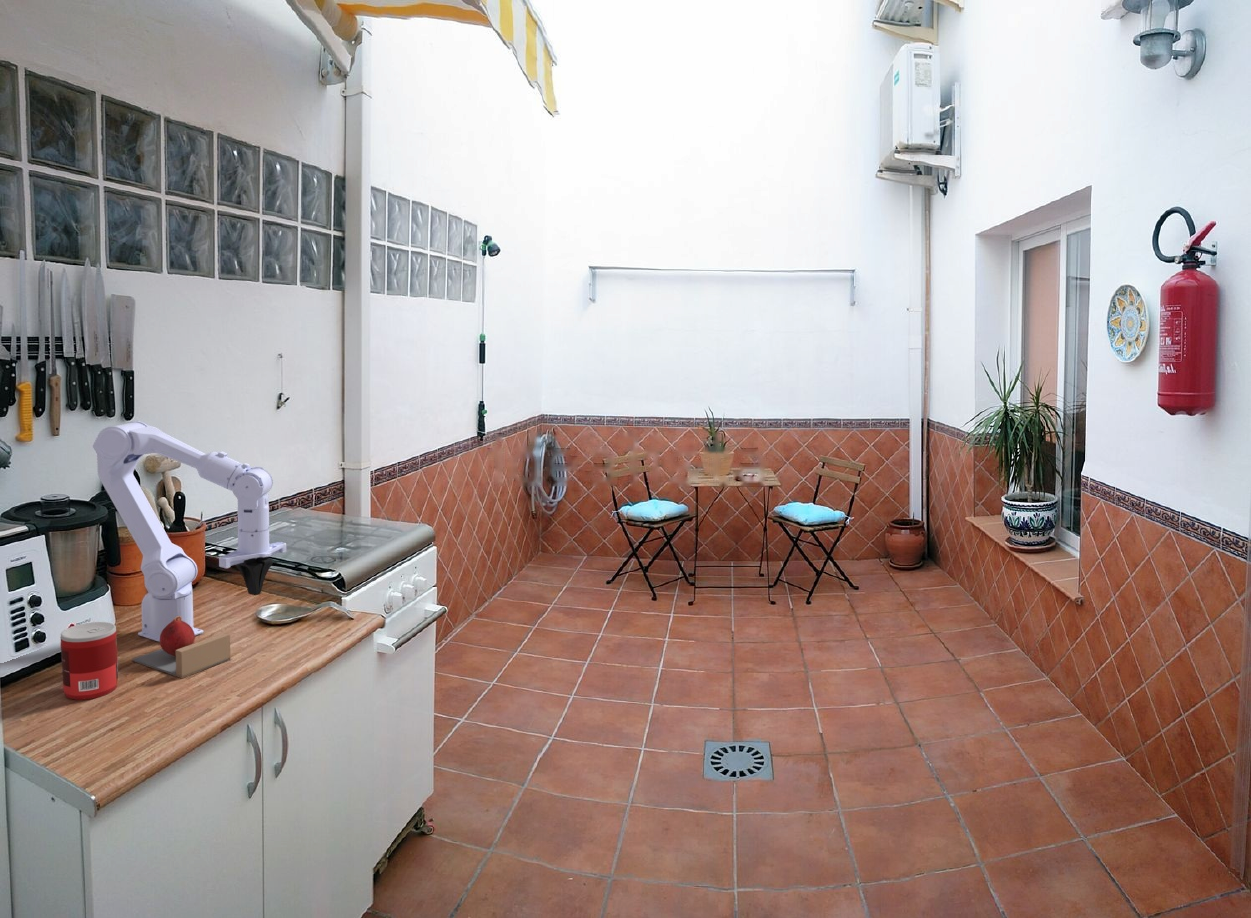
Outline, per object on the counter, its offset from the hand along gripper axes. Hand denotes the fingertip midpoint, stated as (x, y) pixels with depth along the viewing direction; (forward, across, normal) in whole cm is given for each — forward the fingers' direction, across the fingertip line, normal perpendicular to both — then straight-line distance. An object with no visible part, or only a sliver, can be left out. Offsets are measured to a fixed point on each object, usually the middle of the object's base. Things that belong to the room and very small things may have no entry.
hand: (254, 593), depth 164 cm
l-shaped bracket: (+9, -15, +2) cm, 18 cm away
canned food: (+10, -31, +3) cm, 33 cm away
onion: (+9, -15, +3) cm, 18 cm away
